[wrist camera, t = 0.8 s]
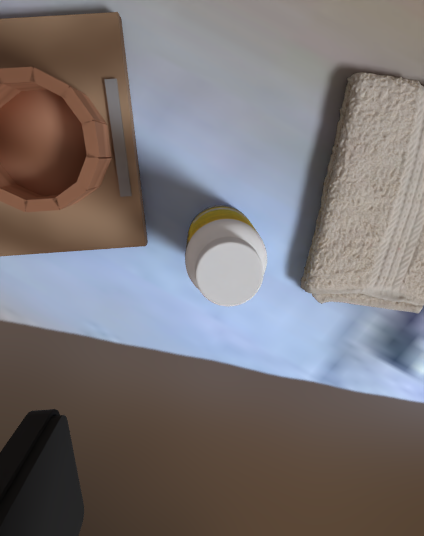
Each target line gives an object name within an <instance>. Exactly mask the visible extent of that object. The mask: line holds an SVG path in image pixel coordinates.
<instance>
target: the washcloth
mask: <svg viewBox="0 0 424 536" xmlns="http://www.w3.org/2000/svg"><path fill="white" fill-rule="evenodd" d="M347 80H348V84H347V86H346V91H345V98H344V101H343V104H342V108H341V109H340V110H339V112H340V114H341V115H340V120H339V122H338V123H337V133H336V138H335V144H334V146H333V149H332V152H333V153H332V155H331V156H330V157H331V159H330V162H329V164H328V167H327V169H328V173H327V175H326V178H325V180H324V181H325V182H324V184H323V185H324V188H323V194H322V197H321V208H320V210H319V214H318V218H317V220H316V229H315V232H314V236H313V239H312V245H311V247H310V249H309V256H308V257H307V261H306V267H304V274H303V277H302V278H301V288H302V289H304V290H305V292H308V293H312V296H313V297H314V298H315V299H316V300H317V301H318V302H319V303H321V304H322V303H326V302H343V303H349V304H356V305H364V306H371V307H378V308H385V309H391V310H400V311H408V312H414V313H419V312H420V311H421V309H422V306H423V305H424V86H422V85H420V82H419V81H417V80H415V81H413V80H408V79H403V78H402V77H400V78H398V77H397V78H395V77H394V76H385V75H376V74H373V73H366V72H360V73H355V74H353V75H352V76H351V77H349V78H347Z"/></svg>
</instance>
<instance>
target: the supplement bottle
mask: <svg viewBox="0 0 424 536" xmlns="http://www.w3.org/2000/svg"><path fill="white" fill-rule="evenodd" d="M185 264H186V269H187V273H188V275H189V278H190V279H191V281H192V282H193V284H194V285H195V286H196V287H197V288H198V289H199V290H200V292H201V293H202V294H203V296H204V297H206V298H207V299H208V300H209V301H211V302H213V303H215V304H218V305H221V306H236V305H240V304H242V303H245V302H246V301H248V300H250V299H251V298H252V297H253V296H254V295H255V294H256V293H257V291H258V290H259V288H260V286H261V284H262V281H263V275H264V272H265V269H266V265H267V253H266V248H265V245H264V243H263V241H262V239H261V237H260V236H259V234H258V233H257V231H256V230H255V228H254V227H253V226H252V224H251V223H250V221H249V220H248V219H247V217H246V216H245V215H244V214H243V213H241V212H240V211H239V210H237V209H235V208H233V207H230V206H223V205H218V206H213V207H209V208H207V209H205V210H203V211H202V212H201V213H199V214H198V215H197V216H196V217H195V219H194V220H193V221H192V223H191V225H190V228H189V231H188V237H187V246H186V252H185Z"/></svg>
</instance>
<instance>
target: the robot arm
mask: <svg viewBox="0 0 424 536" xmlns="http://www.w3.org/2000/svg"><path fill="white" fill-rule="evenodd" d="M83 517H84V505H83V499H82V494H81V489H80V483H79V479H78V473H77V468H76V463H75V458H74V453H73V447H72V442H71V437H70V431H69V427H68V421H67V418H66V416H64V415H60V414H59V412H58V410H55V409H52V410H38V411H31V412H29V413H28V414H27V415H26V417H25V418H24V419H23V421H22V422H21V424H20V425H19V426H18V428H17V429H16V431H15V432H14V434H13V435H12V437H11V438H10V439H9V441H8V442H7V444H6V445H5V447H4V448H3V449H2V451H1V452H0V536H78V535H79V532H80V529H81V526H82V522H83Z"/></svg>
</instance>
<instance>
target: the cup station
mask: <svg viewBox="0 0 424 536" xmlns="http://www.w3.org/2000/svg"><path fill="white" fill-rule="evenodd" d="M147 243H148V240H147V232H146V224H145V215H144V207H143V198H142V190H141V181H140V173H139V165H138V156H137V148H136V139H135V131H134V123H133V114H132V106H131V97H130V89H129V80H128V72H127V64H126V55H125V47H124V38H123V30H122V21H121V17H120V16H119V14H118V12H110V13H93V14H76V15H58V16H41V17H23V18H6V19H0V256H11V255H25V254H39V253H53V252H67V251H82V250H96V249H110V248H124V247H138V246H146V245H147Z"/></svg>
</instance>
